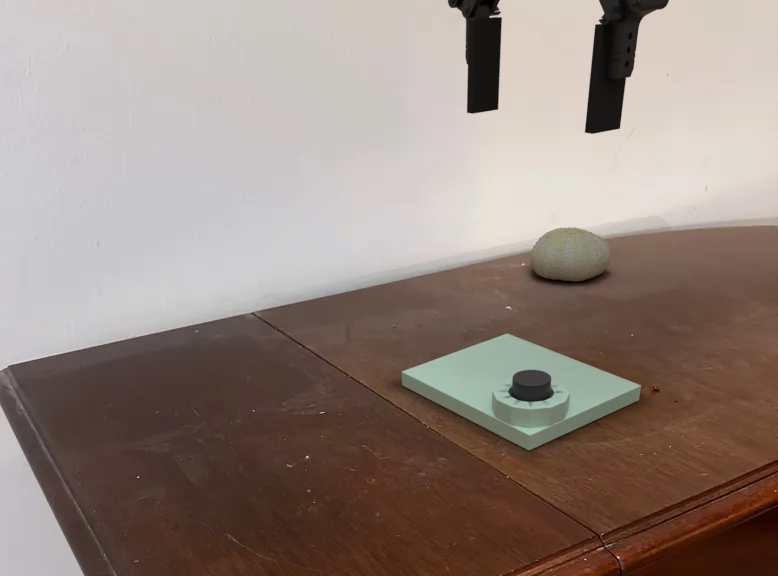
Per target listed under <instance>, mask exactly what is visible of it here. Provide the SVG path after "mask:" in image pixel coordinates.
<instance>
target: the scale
mask: <svg viewBox="0 0 778 576" xmlns="http://www.w3.org/2000/svg"><path fill="white" fill-rule="evenodd" d="M523 370H540V371H543V372H546V373H548V374H549V375H550V376H551V390H550V397H549V398H548V399H547V400H544V401H537V402H525V401H519V400H517V399H515V398H513V397H512V378H513V375H514V374H515V373H517V372H519V371H523ZM401 385H402V387H404V388H406V389H408V390H409V391H412V392H414V393H416V394H418V395H420V396H422V397H424V398H426V399H428V400H429V401H432V402H433V403H435V404H437V405H439V406H441V407H443V408H444V409H447V410H449V411H451V412H453V413H454V414H457V415H458V416H461V417H463V418H465V419H466V420H469V421H470V422H472V423H474V424H477V425H478V426H479V427H482V428H484V429H486V430H488V431H490V432H491V433H494V434H495V435H497V436H500V437H501V438H503V439H505V440H507V441H509V442H511V443H513V444H515V445H517V446H519V447H520V448H523V449H524V450H526V451H532V450H534V449H535V448H538V447H540V446H542V445H545V444H547V443H549V442H551V441H553V440H556V439H558V438H559V437H562V436H564V435H566V434H568V433H571V432H573V431H575V430H577V429H579V428H581V427H584V426H586V425H588V424H591V423H593V422H595V421H596V420H599V419H601V418H603V417H606V416H608V415H610V414H612V413H614V412H616V411H619V410H621V409H623V408H626V407H628V406H629V405H632V404H634V403H636V402H639V400H640V395H641V390H642V385H641V384H640V383H639V384H638V383H636V382H633V381H630V380H629V379H625V378H623V377H620V376H618V375H616V374H613V373H610V372H608V371H605V370H603V369H601V368H597V367H595V366H592V365H590V364H588V363H584V362H582V361H579V360H577V359H574V358H572V357H569V356H566V355H564V354H561V353H560V352H556V351H554V350H551V349H549V348H546V347H543V346H541V345H538V344H535V343H533V342H531V341H528V340H526V339H523V338H521V337H518V336H515V335H513V334H509V333H504V334H501V335H499V336H496V337H493V338H491V339H488V340H485V341H481V342H480V343H477V344H474V345H472V346H469V347H466V348H463V349H460V350H457V351H455V352H451V353H449V354H446V355H443V356H441V357H438V358H435V359H432V360H430V361H427V362H424V363H422V364H419V365H416V366H413V367H410V368H407V369H404V370H402V371H401Z"/></svg>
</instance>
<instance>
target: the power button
mask: <svg viewBox="0 0 778 576" xmlns="http://www.w3.org/2000/svg"><path fill="white" fill-rule="evenodd" d="M550 390H551V376H550V375H549V374H548V373H546V372H543V371H540V370H523V371H519V372H517V373H515V374H514V375H513V378H512V397H513V398H515V399H517V400H519V401H525V402H537V401H544V400H547V399H548V398H549V397H550Z"/></svg>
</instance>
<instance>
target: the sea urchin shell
mask: <svg viewBox="0 0 778 576" xmlns="http://www.w3.org/2000/svg"><path fill="white" fill-rule="evenodd" d="M530 251H531V253H530V260H529V261H530V266H531V268H532V270H533V271H534V272H535V273H536V275H538V276H540V277H542V278H543V279H551V280H552V281H553V280H554V281H556V280H559V281H560V280H561V281H565V282H569V281H570V282H575V283H577V282H582V281H585V280H589V279H591V278H594V277H597V276H600V275H601V274H603V272H605V271H606V270H607V268H608V267H609V266H610V264H611V263H610V262H611V258H612V251H611V248H610V246H609V244H608V242H607V241H606V240H605V239H604V238H602V237H601V236H600V235H599V234H595V233H593V232H592V231H589V230H586V229H583V228H579V227H576V226H575V227H570V226H569V227H558V228H554V229H552V230H549V231H546V232H545V233H544V234H541V237H539V238H538V240H537V241H535V244H534V245H532V249H531V250H530Z"/></svg>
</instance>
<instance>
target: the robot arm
mask: <svg viewBox="0 0 778 576" xmlns="http://www.w3.org/2000/svg"><path fill="white" fill-rule="evenodd" d="M500 1H501V0H447V4H448V6H449V8H451V9H457V10H459V11H460V12H461V15H462V17H463V18H464V19H465V53H464V55H465V62H466V65H467V90H466V91H467V92H466V95H467V96H466V113H467V114H473V115H475V114H481V113H487V112H492V111H498V110H499V100H500V99H499V98H500V73H501V49H502V48H501V47H502V23H503V17H501V16H499V15H500V14H501V13H502V12H501V11H500V7H498V5H499V3H500ZM669 1H670V0H598V2H599V4H600V6H601V9H602V11H603V15H601V17H600V18H599V19H598V22H599V23H597V24H594V34H593V43H592V53H591V54H592V56H591V63H590V64H591V65H590V73H589V74H590V75H589V85H588V93H587V94H588V96H587V106H586V117H585V125H584V126H585V128H584V133H585V134H591V135H593V134H599V133H605V132H610V131H616V130H620V129H621V124H622V115H623V108H624V107H623V106H624V98H625V90H626V81H627V78H631V77H632V74H633V71H634V68H635V61H636V60H635V59H636V54H637V53H636V51H637V45H638V37H639V28H640V24H641V22H642V20H643V18H644V17H646V16H648V15H649V14H651V13H654V12H656V11H658V10H664V9H665V8H666V7H667V6H668V4H669Z"/></svg>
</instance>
